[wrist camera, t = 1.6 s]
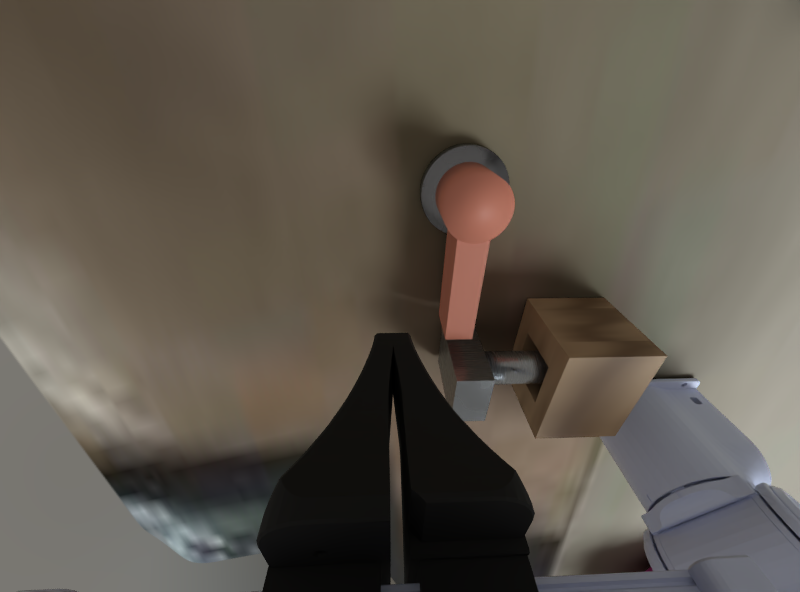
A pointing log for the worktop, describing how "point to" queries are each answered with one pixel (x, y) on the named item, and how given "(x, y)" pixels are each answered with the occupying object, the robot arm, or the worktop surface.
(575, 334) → the eye block
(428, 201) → the lever base
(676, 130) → the worktop surface
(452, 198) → the latch lever
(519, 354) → the bolt
